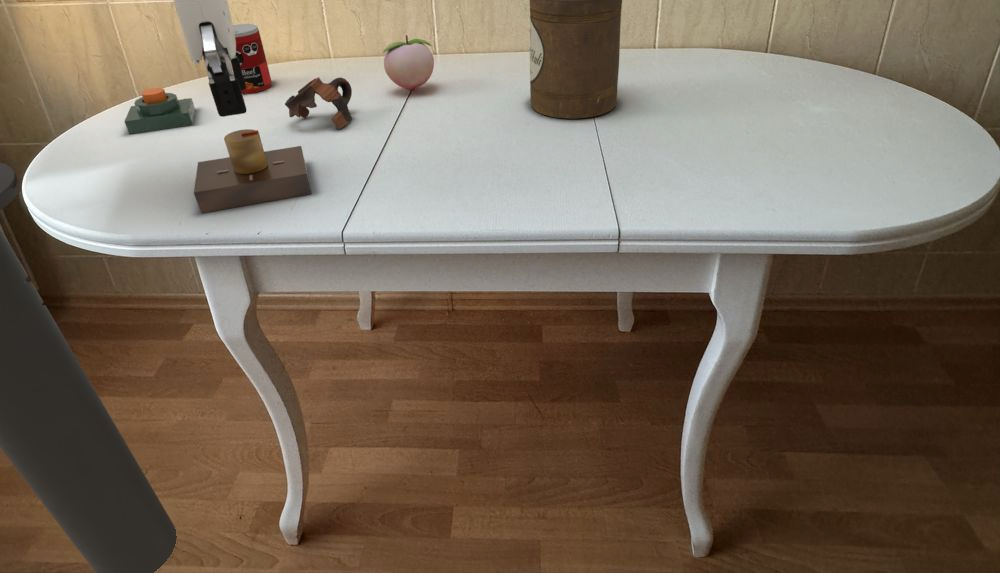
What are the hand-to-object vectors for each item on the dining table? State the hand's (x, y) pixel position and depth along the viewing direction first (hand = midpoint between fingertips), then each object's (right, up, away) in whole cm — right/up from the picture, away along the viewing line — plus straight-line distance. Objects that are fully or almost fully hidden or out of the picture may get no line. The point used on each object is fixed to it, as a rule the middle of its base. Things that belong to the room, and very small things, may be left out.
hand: (233, 101), depth 79 cm
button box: (-25, +5, +30) cm, 39 cm away
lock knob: (0, -7, +5) cm, 9 cm away
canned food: (-15, +16, +44) cm, 49 cm away
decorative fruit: (+18, +13, +38) cm, 44 cm away
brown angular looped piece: (+4, +5, +27) cm, 28 cm away
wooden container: (+46, +8, +29) cm, 55 cm away
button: (-25, +8, +28) cm, 38 cm away
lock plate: (0, -10, +7) cm, 12 cm away
